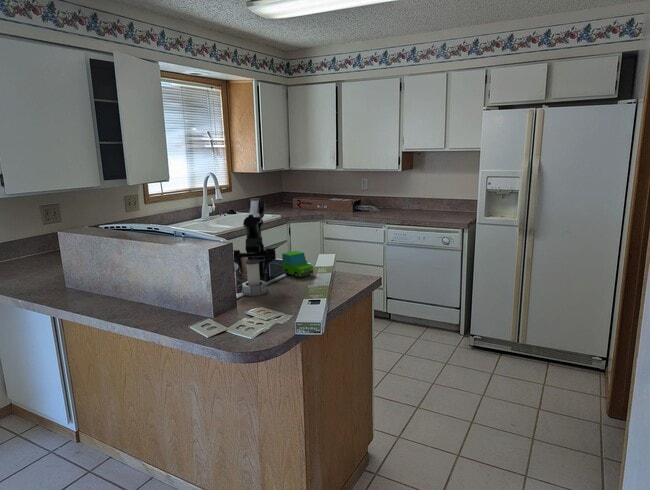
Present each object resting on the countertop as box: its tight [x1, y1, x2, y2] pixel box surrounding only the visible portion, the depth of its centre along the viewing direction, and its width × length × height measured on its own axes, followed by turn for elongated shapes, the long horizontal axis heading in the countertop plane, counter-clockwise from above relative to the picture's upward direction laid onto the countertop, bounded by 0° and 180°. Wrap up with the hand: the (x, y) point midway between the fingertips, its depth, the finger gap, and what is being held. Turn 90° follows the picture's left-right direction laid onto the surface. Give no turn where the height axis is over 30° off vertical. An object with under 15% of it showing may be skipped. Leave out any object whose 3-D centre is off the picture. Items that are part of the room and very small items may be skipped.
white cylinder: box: [245, 258, 261, 286], centre depth 185 cm, size 5×5×13 cm
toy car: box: [281, 250, 314, 279], centre depth 208 cm, size 10×13×10 cm
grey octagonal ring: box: [240, 279, 269, 297], centre depth 186 cm, size 11×11×4 cm
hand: (253, 272), depth 184 cm, fingers open, 9 cm apart
